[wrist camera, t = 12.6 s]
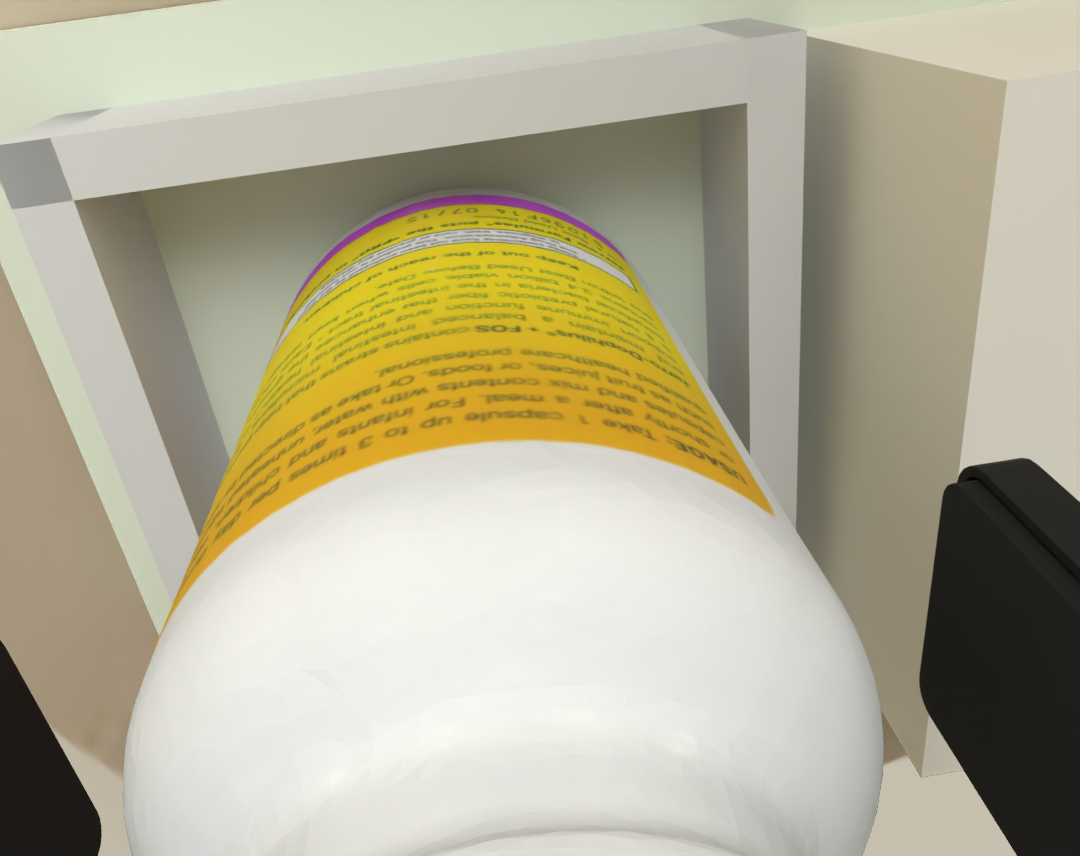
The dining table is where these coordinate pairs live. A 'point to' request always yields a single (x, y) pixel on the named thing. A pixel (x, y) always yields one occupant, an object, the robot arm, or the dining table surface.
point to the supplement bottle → (497, 582)
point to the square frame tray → (603, 200)
